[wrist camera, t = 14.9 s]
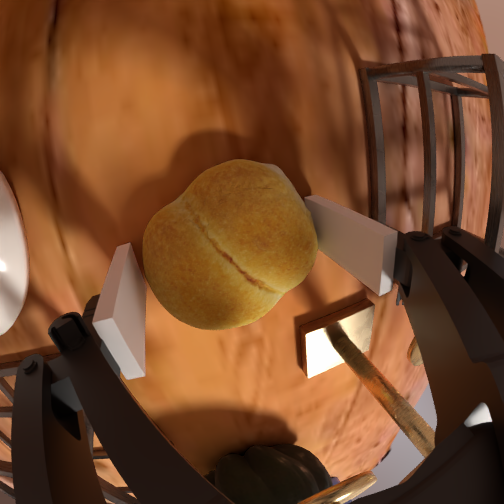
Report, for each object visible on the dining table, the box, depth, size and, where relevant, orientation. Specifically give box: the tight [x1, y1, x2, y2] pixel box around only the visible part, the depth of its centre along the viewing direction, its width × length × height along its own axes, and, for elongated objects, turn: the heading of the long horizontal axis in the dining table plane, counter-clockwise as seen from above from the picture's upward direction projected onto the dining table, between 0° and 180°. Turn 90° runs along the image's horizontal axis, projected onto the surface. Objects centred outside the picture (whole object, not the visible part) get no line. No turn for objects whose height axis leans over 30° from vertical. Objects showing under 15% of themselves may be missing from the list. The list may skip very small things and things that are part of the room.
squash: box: [204, 444, 333, 504], centre depth 21 cm, size 14×15×15 cm
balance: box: [298, 298, 435, 504], centre depth 14 cm, size 18×5×16 cm, turn 99°
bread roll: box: [142, 159, 318, 330], centre depth 14 cm, size 8×9×4 cm
